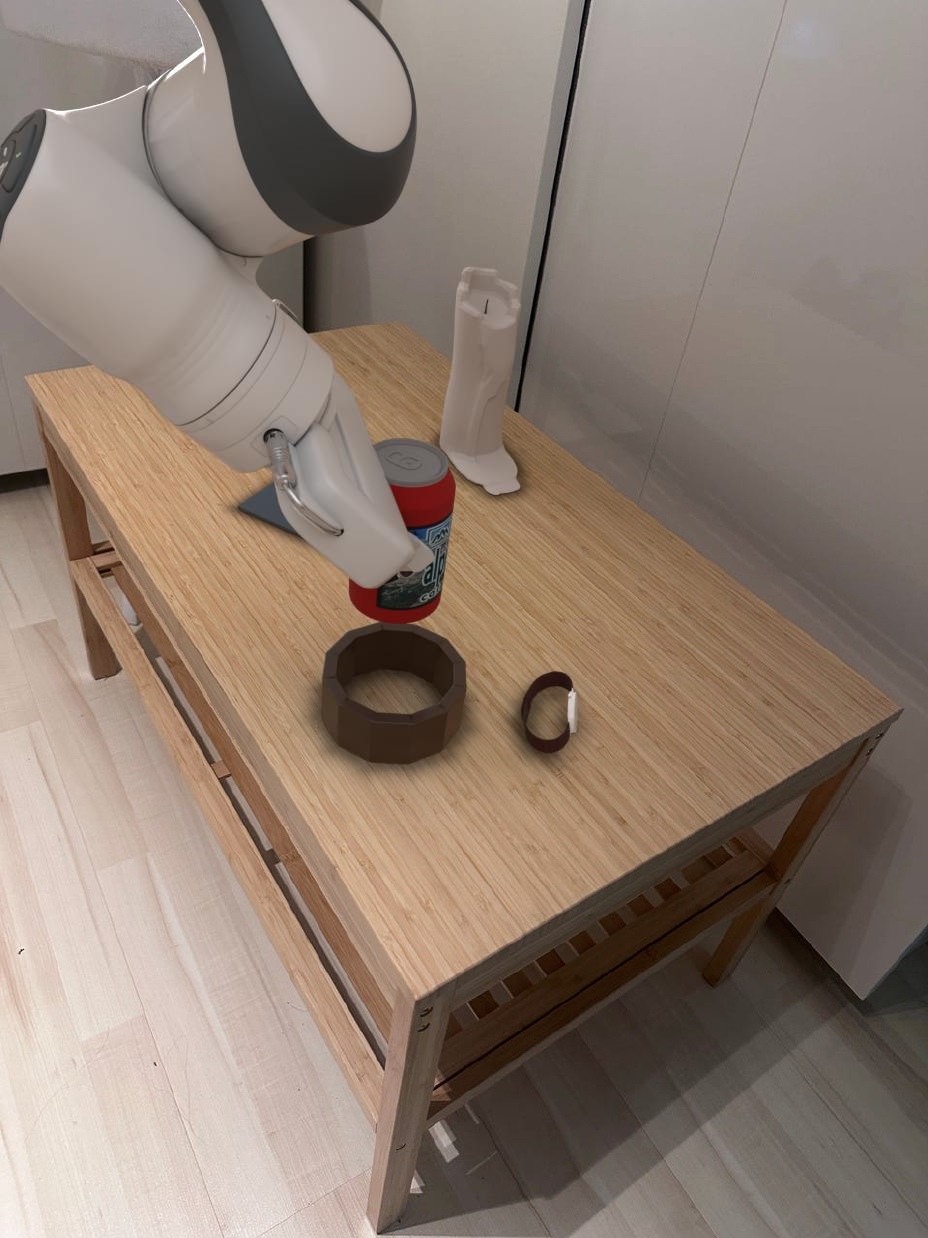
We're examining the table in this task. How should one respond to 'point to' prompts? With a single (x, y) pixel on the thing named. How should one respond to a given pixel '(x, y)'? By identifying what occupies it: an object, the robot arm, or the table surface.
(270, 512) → the mat
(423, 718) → the faceted ring
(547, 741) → the watch
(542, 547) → the table surface
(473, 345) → the candle
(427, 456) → the beverage can
